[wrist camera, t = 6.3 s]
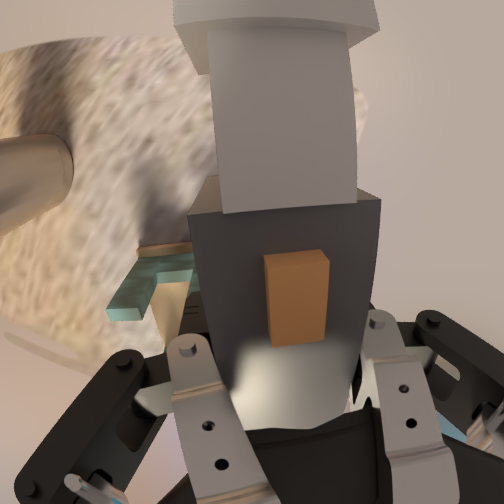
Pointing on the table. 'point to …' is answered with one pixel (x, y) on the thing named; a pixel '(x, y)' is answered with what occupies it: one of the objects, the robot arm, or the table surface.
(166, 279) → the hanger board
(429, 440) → the robot arm
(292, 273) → the power strip
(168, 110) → the table surface
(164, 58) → the table surface
